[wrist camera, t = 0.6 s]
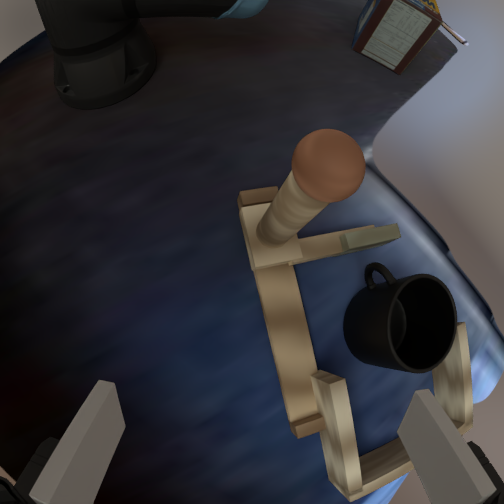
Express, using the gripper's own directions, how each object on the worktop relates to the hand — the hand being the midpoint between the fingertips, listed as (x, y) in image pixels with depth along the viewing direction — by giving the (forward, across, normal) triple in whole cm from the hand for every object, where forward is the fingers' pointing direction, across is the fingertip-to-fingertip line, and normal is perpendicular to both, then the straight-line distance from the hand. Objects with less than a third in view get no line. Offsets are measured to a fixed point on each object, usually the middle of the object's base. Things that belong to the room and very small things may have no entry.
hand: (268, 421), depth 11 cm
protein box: (+45, +22, +39) cm, 64 cm away
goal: (+17, +17, -14) cm, 28 cm away
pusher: (+24, +6, +4) cm, 25 cm away
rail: (+20, +3, -4) cm, 20 cm away
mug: (+21, +14, -5) cm, 26 cm away
